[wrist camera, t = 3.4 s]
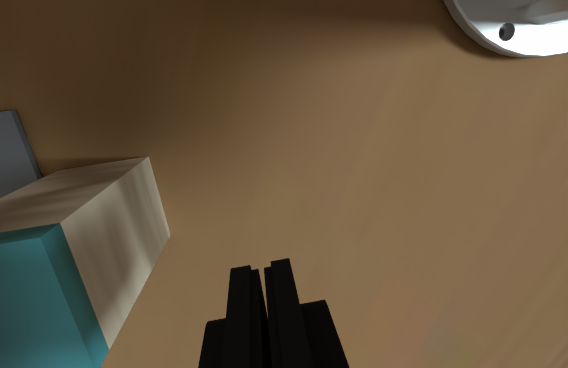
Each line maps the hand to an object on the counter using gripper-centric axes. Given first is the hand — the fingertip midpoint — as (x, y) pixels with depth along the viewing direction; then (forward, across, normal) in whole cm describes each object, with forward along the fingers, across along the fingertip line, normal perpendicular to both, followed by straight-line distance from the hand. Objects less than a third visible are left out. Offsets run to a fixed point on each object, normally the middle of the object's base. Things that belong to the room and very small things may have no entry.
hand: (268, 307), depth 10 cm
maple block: (+11, +8, 0) cm, 14 cm away
